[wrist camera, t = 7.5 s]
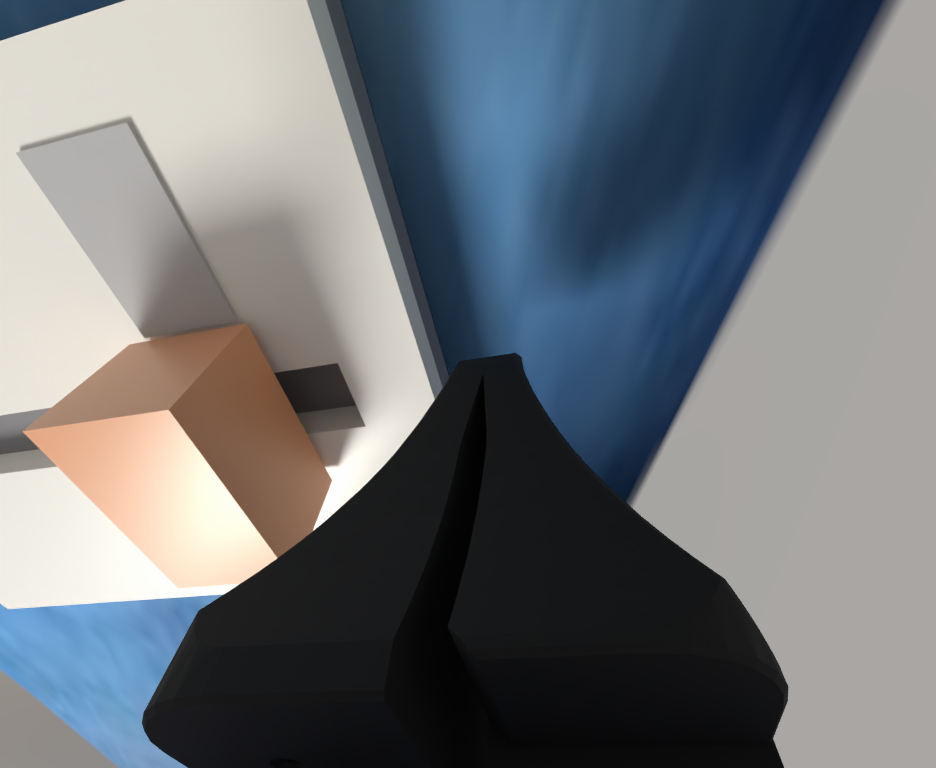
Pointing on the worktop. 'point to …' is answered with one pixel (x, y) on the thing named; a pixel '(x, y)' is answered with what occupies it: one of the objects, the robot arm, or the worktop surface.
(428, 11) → the worktop surface
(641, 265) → the worktop surface
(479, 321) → the worktop surface
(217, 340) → the switch
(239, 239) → the white flat board
